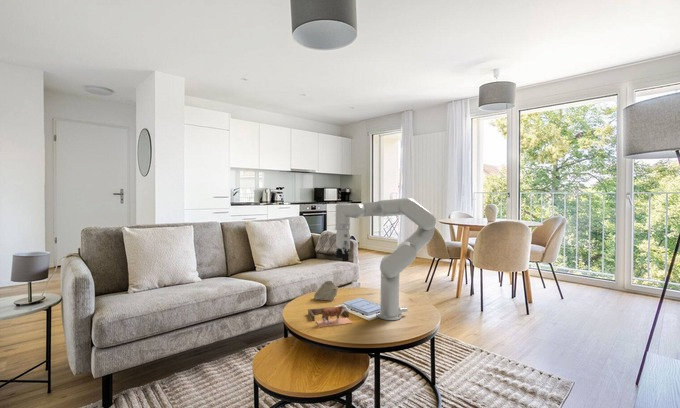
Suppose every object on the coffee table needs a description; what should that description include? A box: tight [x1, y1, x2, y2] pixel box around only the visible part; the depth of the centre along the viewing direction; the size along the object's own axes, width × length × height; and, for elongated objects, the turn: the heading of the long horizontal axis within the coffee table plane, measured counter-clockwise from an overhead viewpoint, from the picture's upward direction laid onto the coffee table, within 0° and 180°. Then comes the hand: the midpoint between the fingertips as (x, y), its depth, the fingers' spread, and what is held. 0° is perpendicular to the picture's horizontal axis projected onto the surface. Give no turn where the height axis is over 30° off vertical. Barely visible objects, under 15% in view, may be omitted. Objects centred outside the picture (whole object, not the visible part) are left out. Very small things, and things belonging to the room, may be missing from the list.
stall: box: [307, 306, 350, 322], centre depth 166 cm, size 19×10×2 cm, turn 108°
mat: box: [316, 317, 353, 328], centre depth 156 cm, size 16×7×1 cm, turn 108°
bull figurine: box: [321, 303, 349, 324], centre depth 157 cm, size 4×13×8 cm, turn 108°
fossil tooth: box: [313, 280, 339, 302], centre depth 193 cm, size 12×6×15 cm
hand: (342, 259), depth 170 cm, fingers open, 9 cm apart
